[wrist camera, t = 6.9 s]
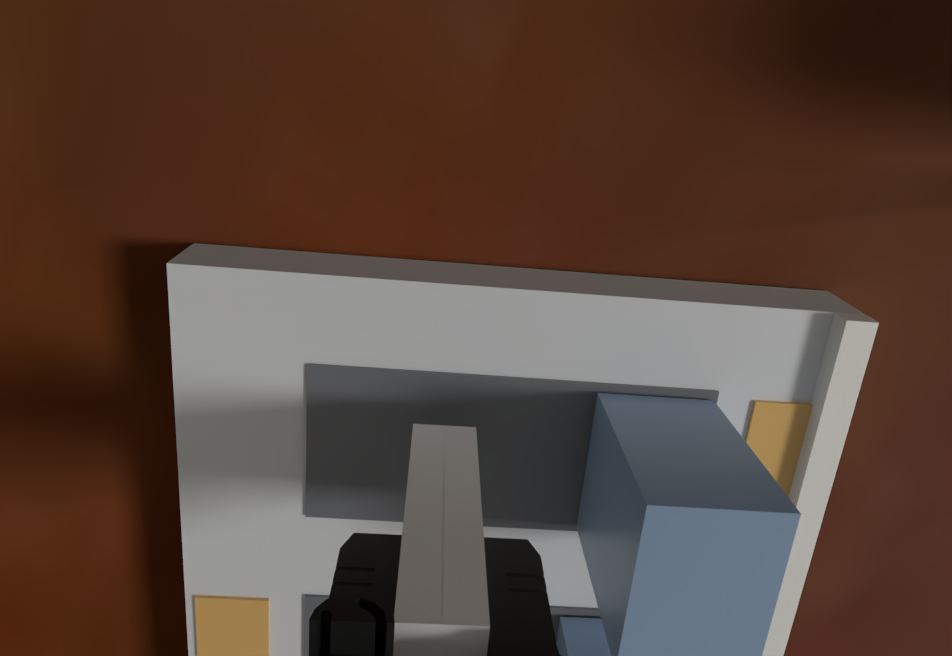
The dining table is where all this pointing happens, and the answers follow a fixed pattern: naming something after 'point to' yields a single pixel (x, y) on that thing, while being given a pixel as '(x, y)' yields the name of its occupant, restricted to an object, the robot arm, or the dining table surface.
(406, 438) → the switch bank
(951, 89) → the dining table surface
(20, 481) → the dining table surface
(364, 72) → the dining table surface
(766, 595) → the tab
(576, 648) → the tab
